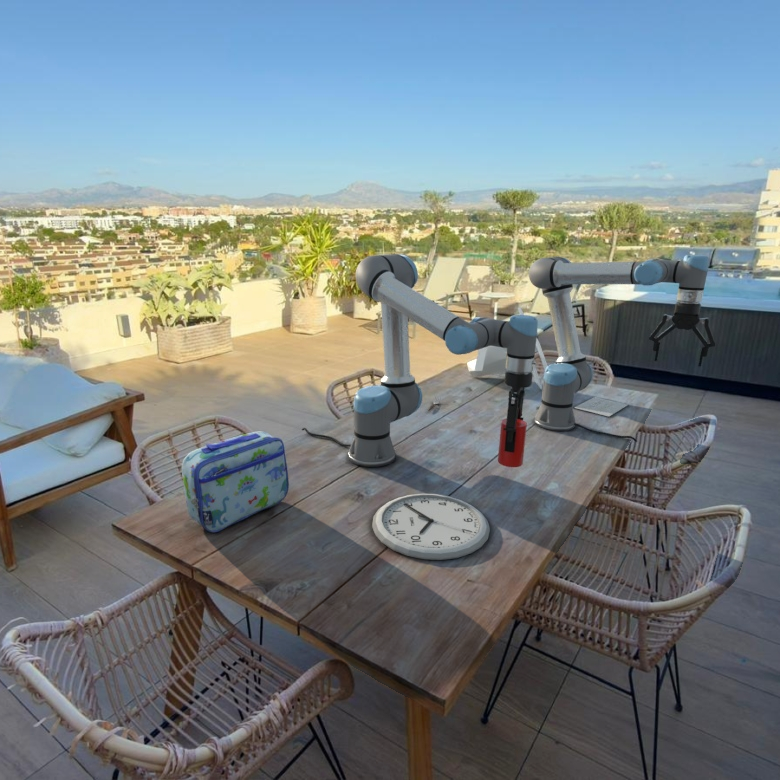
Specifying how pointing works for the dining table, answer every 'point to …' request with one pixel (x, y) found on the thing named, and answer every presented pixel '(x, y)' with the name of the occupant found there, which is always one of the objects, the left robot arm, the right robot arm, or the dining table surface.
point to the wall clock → (431, 526)
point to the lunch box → (234, 479)
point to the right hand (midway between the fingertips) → (677, 362)
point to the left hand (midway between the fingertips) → (511, 446)
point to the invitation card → (601, 406)
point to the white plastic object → (499, 361)
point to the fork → (434, 403)
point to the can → (517, 457)
